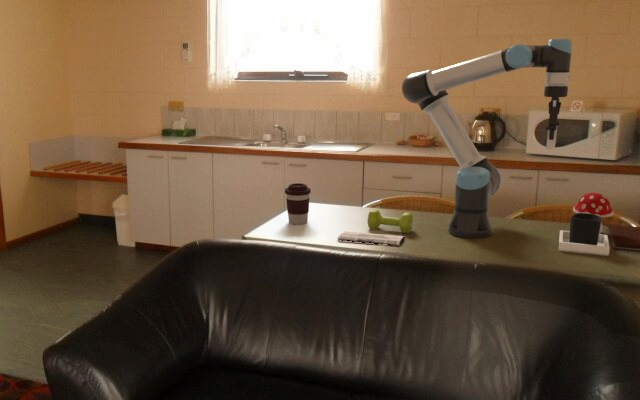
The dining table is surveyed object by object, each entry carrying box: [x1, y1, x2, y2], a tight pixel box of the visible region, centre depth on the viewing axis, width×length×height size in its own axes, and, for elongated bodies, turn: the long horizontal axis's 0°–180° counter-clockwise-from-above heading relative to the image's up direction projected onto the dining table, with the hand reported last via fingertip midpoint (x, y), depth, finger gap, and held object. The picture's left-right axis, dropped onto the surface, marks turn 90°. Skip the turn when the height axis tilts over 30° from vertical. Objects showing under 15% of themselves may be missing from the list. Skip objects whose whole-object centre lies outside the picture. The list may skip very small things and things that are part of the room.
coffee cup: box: [284, 182, 312, 225], centre depth 227 cm, size 10×10×15 cm
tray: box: [558, 229, 611, 257], centre depth 198 cm, size 15×15×3 cm
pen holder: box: [569, 213, 602, 245], centre depth 197 cm, size 9×9×10 cm
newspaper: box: [337, 230, 406, 246], centre depth 207 cm, size 23×12×2 cm, turn 72°
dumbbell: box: [367, 208, 414, 234], centre depth 218 cm, size 16×8×7 cm, turn 67°
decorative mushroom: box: [572, 192, 615, 234], centre depth 212 cm, size 14×14×15 cm
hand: (551, 146), depth 207 cm, fingers open, 13 cm apart
